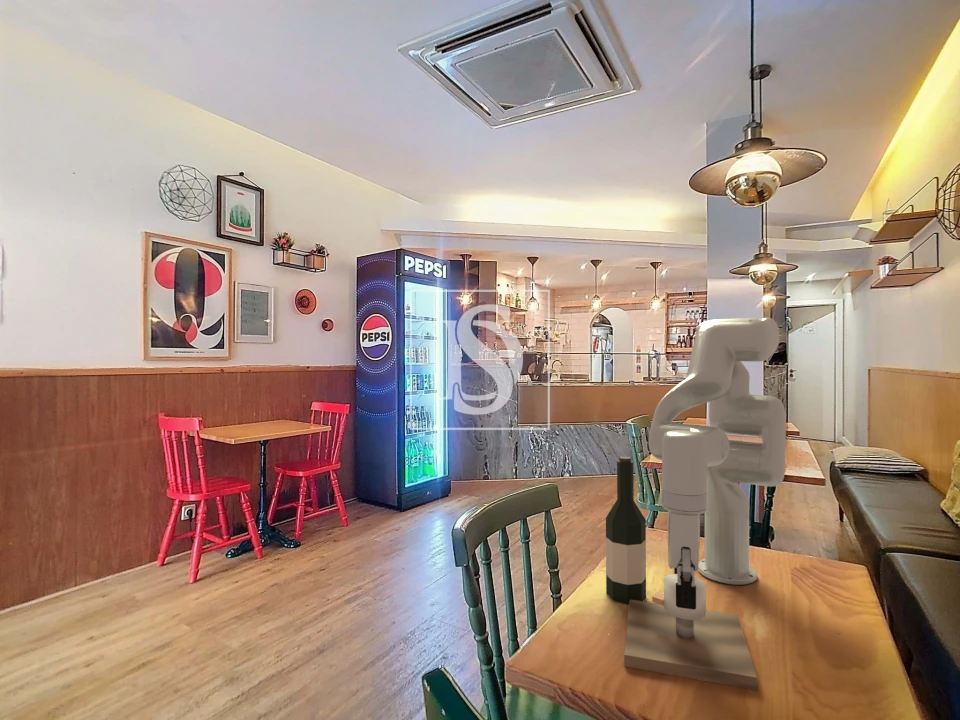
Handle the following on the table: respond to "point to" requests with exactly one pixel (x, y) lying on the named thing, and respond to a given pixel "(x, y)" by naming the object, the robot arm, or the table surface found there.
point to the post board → (688, 645)
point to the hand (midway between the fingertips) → (684, 594)
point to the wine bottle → (625, 541)
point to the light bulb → (670, 599)
